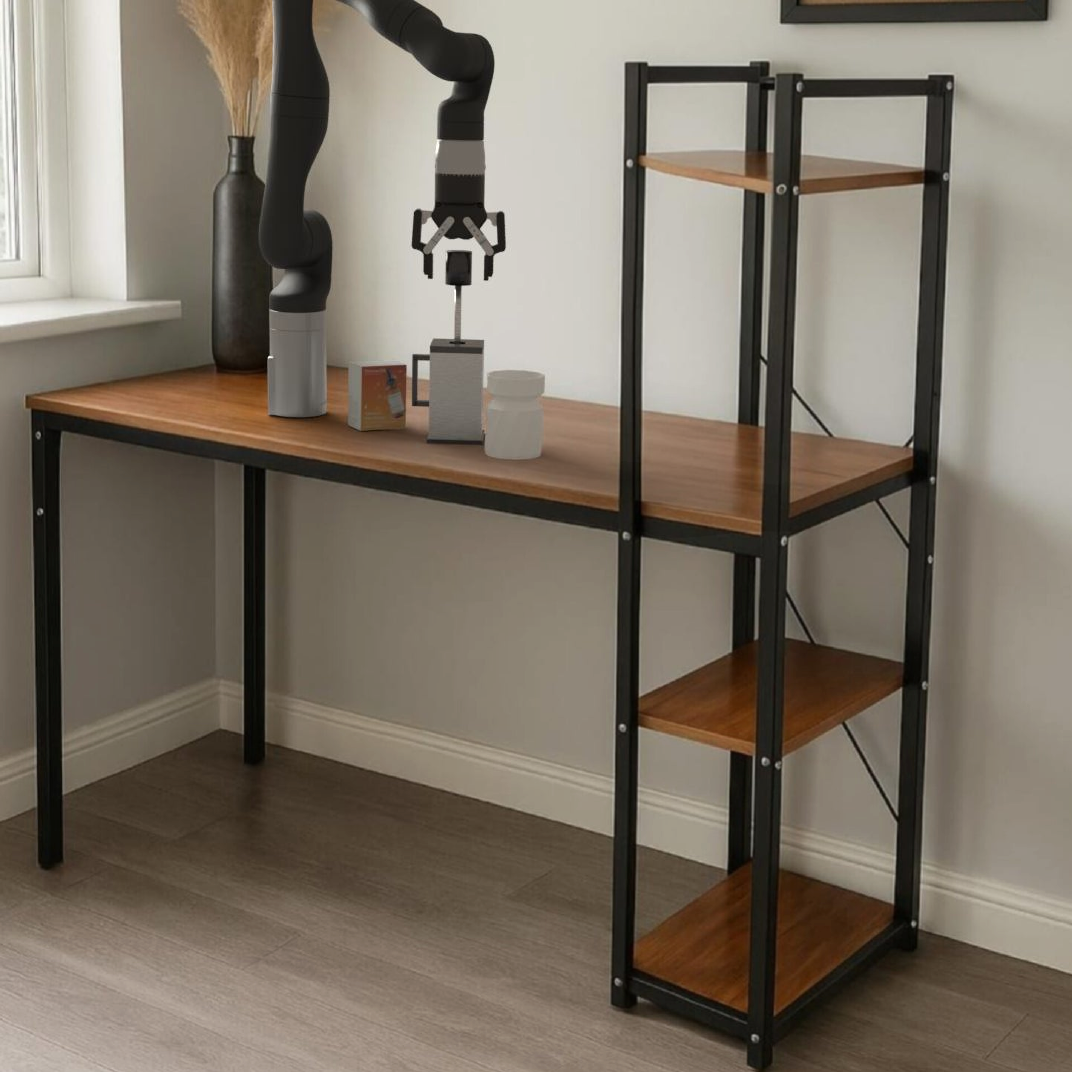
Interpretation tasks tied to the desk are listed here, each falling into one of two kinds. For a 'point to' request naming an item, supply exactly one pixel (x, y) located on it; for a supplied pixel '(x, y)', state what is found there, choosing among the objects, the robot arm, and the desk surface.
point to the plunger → (458, 281)
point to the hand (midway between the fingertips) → (458, 279)
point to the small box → (377, 395)
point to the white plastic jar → (514, 414)
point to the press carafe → (453, 391)
